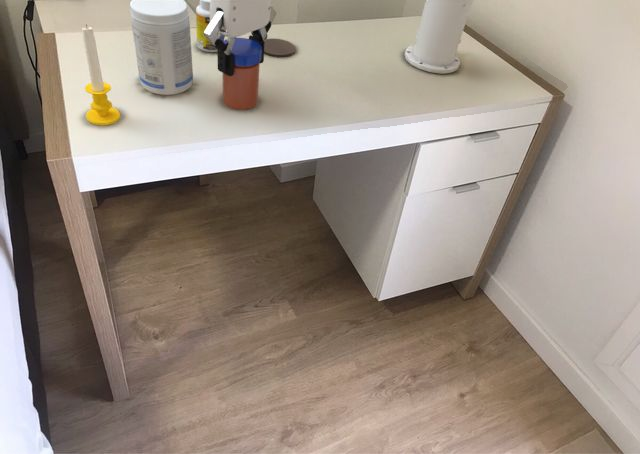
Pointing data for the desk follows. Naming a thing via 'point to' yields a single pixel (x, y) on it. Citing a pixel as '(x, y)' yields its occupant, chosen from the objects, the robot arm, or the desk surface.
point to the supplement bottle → (203, 26)
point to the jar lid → (246, 52)
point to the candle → (97, 85)
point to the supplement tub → (162, 45)
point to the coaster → (278, 48)
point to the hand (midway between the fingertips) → (241, 65)
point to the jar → (241, 87)
